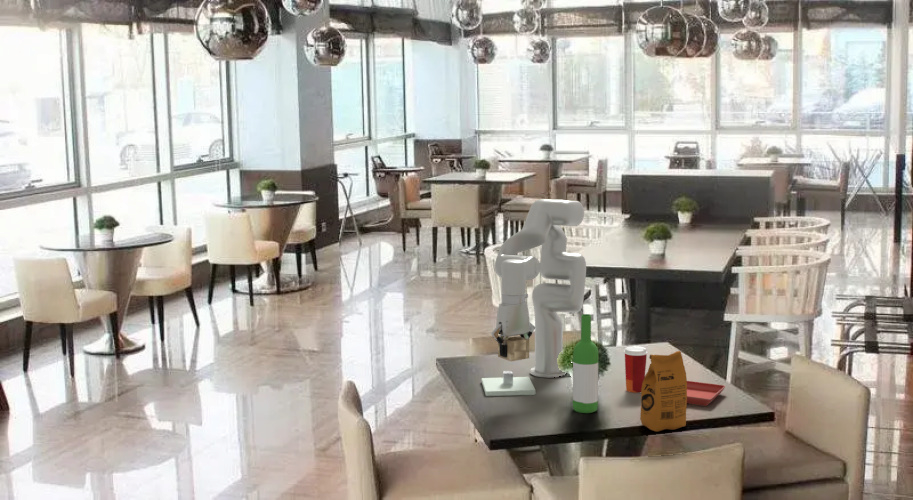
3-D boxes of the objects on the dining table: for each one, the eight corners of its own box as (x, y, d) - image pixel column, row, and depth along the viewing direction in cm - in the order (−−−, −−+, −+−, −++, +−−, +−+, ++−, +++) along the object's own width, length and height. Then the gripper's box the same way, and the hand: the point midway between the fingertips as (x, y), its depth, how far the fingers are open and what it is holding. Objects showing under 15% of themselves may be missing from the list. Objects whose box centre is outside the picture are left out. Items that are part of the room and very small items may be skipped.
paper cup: (649, 388, 368) (650, 347, 366) (643, 394, 361) (644, 352, 359) (626, 385, 371) (627, 344, 369) (619, 392, 364) (620, 350, 362)
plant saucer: (671, 387, 370) (671, 378, 370) (725, 394, 362) (726, 384, 361) (654, 402, 354) (654, 391, 354) (710, 409, 346) (710, 399, 345)
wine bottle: (578, 405, 350) (579, 311, 346) (601, 408, 346) (603, 313, 342) (568, 411, 344) (569, 316, 339) (591, 415, 340) (592, 318, 335)
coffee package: (635, 423, 332) (637, 351, 328) (671, 418, 336) (673, 347, 333) (653, 433, 323) (655, 359, 319) (690, 428, 327) (692, 354, 324)
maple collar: (516, 353, 357) (516, 335, 356) (529, 358, 351) (529, 339, 350) (498, 356, 353) (498, 338, 352) (511, 361, 347) (510, 342, 346)
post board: (528, 381, 378) (528, 365, 377) (535, 394, 362) (535, 378, 361) (481, 382, 377) (481, 366, 376) (486, 396, 361) (485, 379, 360)
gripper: (528, 293, 357) (528, 348, 359) (483, 300, 347) (483, 356, 350) (543, 297, 350) (542, 353, 353) (497, 304, 341) (497, 361, 344)
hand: (513, 354), depth 352 cm, fingers closed on maple collar, 7 cm apart
